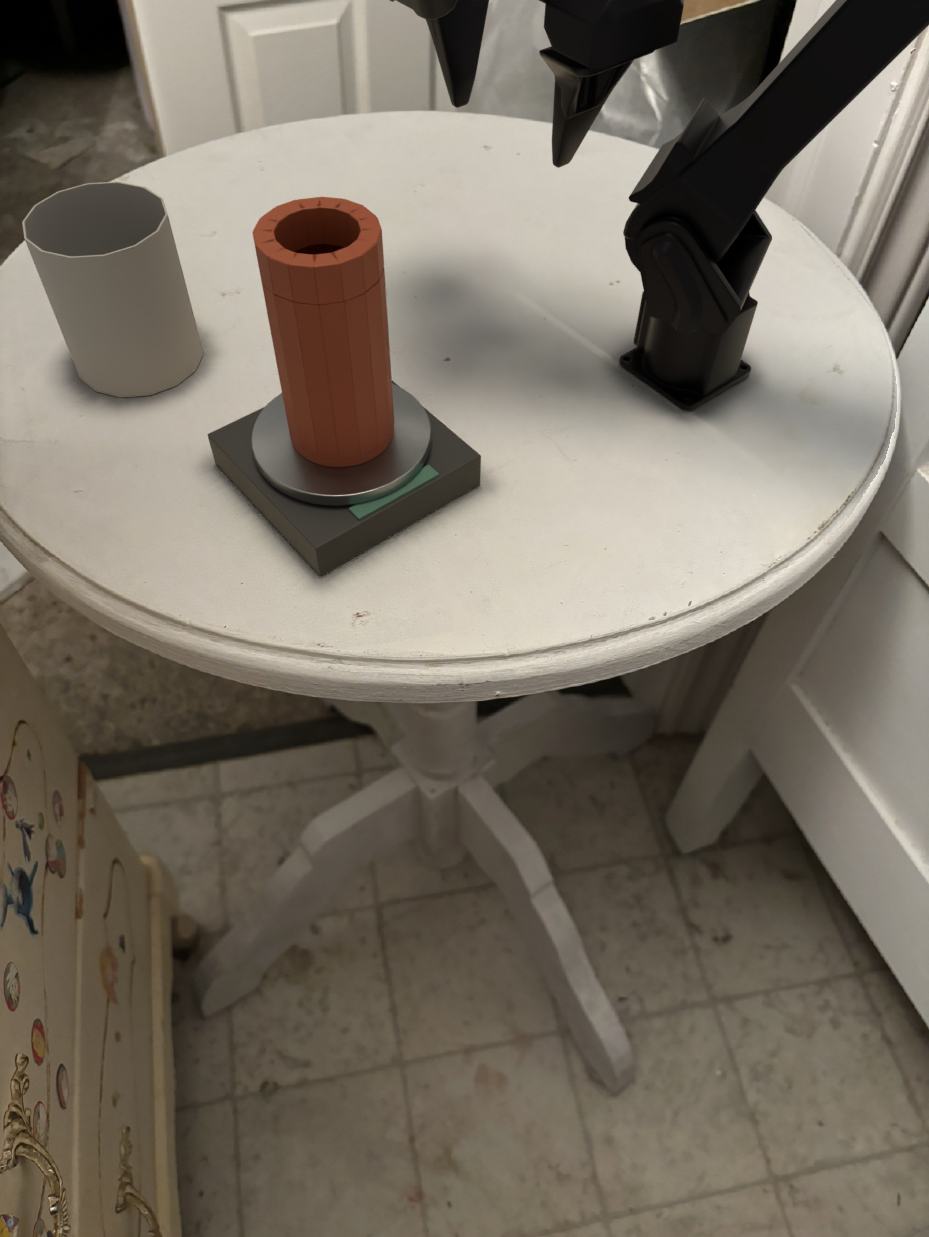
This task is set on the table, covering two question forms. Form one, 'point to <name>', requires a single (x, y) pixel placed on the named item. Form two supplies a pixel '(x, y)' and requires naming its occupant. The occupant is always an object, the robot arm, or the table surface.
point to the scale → (347, 528)
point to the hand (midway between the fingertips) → (508, 134)
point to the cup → (115, 286)
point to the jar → (329, 326)
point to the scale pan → (342, 482)
